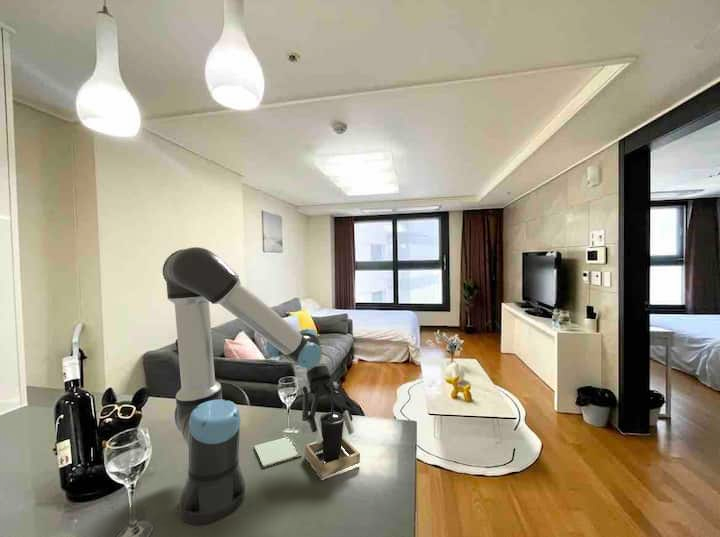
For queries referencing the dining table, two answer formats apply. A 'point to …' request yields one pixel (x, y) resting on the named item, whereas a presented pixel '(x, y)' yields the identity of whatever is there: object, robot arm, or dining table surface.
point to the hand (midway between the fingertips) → (336, 437)
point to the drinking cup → (332, 434)
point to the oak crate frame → (334, 465)
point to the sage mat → (275, 451)
